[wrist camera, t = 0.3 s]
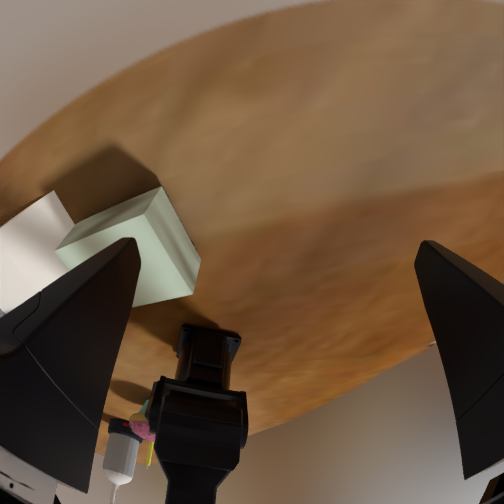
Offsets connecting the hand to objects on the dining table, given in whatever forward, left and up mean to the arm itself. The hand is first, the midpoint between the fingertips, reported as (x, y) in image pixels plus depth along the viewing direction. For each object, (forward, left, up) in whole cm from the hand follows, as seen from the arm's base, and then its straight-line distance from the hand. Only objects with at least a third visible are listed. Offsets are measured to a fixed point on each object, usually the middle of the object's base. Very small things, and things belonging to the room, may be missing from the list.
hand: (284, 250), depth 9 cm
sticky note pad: (-11, +8, -13) cm, 19 cm away
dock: (-21, +22, -14) cm, 34 cm away
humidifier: (-64, +12, -13) cm, 66 cm away
